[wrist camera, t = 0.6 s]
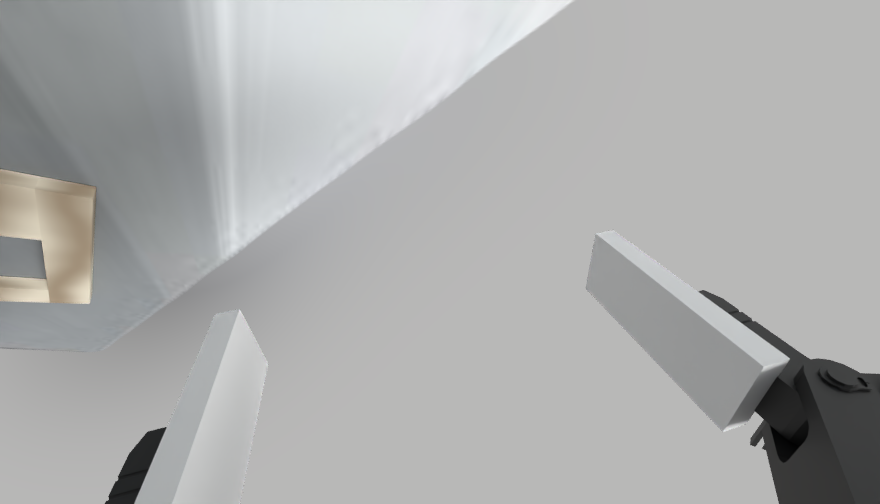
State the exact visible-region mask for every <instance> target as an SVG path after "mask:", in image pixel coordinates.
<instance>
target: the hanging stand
mask: <svg viewBox="0 0 880 504" xmlns="http://www.w3.org/2000/svg"><path fill="white" fill-rule="evenodd" d="M95 206H96V187H94V186H89V185H83V184H78V183H73V182H67V181H62V180H57V179H51V178H46V177H41V176H35V175H30V174H25V173H19V172H14V171H9V170H3V169H0V236H6V237H15V238H25V239H34V240H42V248H43V255H44V262H45V270H46V277H47V279H38V278H22V277H6V276H0V301H18V302H48V303H78V304H90V300H91V296H92V282H93V257H94V231H95Z"/></svg>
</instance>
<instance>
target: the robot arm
mask: <svg viewBox="0 0 880 504" xmlns="http://www.w3.org/2000/svg"><path fill="white" fill-rule="evenodd" d="M586 289H587V291H588V292H589V293H590V294H591V295H592V296H593V297H594V298H595V299H596V300H597V301H598V302H599V303H600V304H601V305H602V306H603V307H604V308H605V309H606V310H607V311H608V312H609V313H610V315H611V316H613V318H614V319H615V320H616V321H617V322H618V323H619V324H620V325H621V326H622V327H623V328H624V329H625V330H626V331H627V332H628V333H629V334H630V335H631V336H632V338H633V339H634V340H635V341H636V342H637V343H638V344H639V345H640V346H641V347H642V348H643V349H644V350H645V351H646V352H647V353H648V354H649V355H650V356H651V357H652V358H653V359H654V360H655V361H656V362H657V364H658V365H659V366H660V367H661V368H662V369H663V370H664V371H665V372H666V373H667V374H668V375H669V376H670V377H671V378H672V379H673V380H674V381H675V382H676V383H677V385H678V386H679V387H680V388H681V389H682V390H683V391H684V392H685V393H686V394H687V395H688V396H689V397H690V398H691V399H692V400H693V401H694V402H695V403H696V404H697V405H698V406H699V408H700V409H701V410H702V411H703V412H704V413H705V414H706V415H707V416H708V417H709V418H710V419H711V420H712V421H713V422H714V423H715V424H716V425H717V426H718V427H719V428H720V429H721V430H722V432H724V431H727V430H730V429H733V428H736V427H739V426H742V425H745V424H746V423H747V422H748V420H749V419H750V418H751V416H752V415H753V413H754V412H757V413H758V414H759V415H760V416H761V417H762V418H763V419H764V420H763V422H762V423H761V425H760V426H759V427H758V429H757V430H756V432H755V433H754V434H753V436H752V437H751V442H750V445H752V446H756V445H757V443H758V442H759V441H760V439H761V438H762V437H763V439H764V443H765V444H764V446H763V449H764V450H766V451H767V456H768V459H769V464H770V468H771V472H772V476H773V480H774V485H775V489H776V493H777V497H778V501H779V504H880V374H863V373H859V372H857V371H855V370H854V369H852V368H850V367H848V366H845V365H843V364H841V363H837V362H834V361H831V360H826V359H812V360H811V359H809V358H807V357H806V356H804V355H803V354H801V353H800V352H798V351H797V350H795V349H794V348H793V347H791V346H790V345H788V344H787V343H786V342H784V341H783V340H781V339H780V338H778V337H777V336H776V335H774V334H773V333H771V332H770V331H768V330H767V329H766V328H764V327H763V326H761V325H760V324H758V323H757V322H755V321H754V322H753V321H752V319H751V318H750V317H748V316H747V315H745V314H744V313H743V312H739V310H738V309H737V308H735V307H734V306H733V305H731V304H730V303H728V302H727V301H725V300H724V299H722V298H720V297H718V296H716V295H713V294H711V293H709V292H707V291H704V290H702V291H699V292H698V291H696V290H695V289H693V288H692V287H691V286H689V285H688V284H687V283H686V282H684V281H683V280H681V279H680V278H679V277H677V276H676V275H675V274H673V273H672V272H670V271H669V270H668V269H666V268H665V267H664V266H662V265H661V264H659V263H658V262H657V261H655V260H654V259H652V258H651V257H649V256H648V255H647V254H646V253H644V252H643V251H641V250H640V249H639V248H637V247H636V246H635V245H633V244H632V243H631V242H629V241H628V240H626V239H625V238H624V237H622V236H621V235H619V234H618V233H617V232H616V231H614V230H611V231H605V232H600V233H596V235H595V240H594V245H593V251H592V256H591V262H590V268H589V273H588V279H587V285H586ZM267 368H268V362H267V360H266V359H265V357H264V355H263V353H262V351H261V349H260V347H259V345H258V343H257V342H256V340H255V338H254V336H253V334H252V332H251V330H250V328H249V326H248V324H247V322H246V320H245V318H244V317H243V315H242V313H241V311H240V309H237V310H233V311H228V312H223V313H219V314H215V315H214V318H213V320H212V322H211V325H210V327H209V329H208V332H207V334H206V337H205V339H204V341H203V344H202V346H201V349H200V351H199V353H198V355H197V358H196V360H195V362H194V365H193V367H192V369H191V372H190V374H189V376H188V379H187V381H186V383H185V386H184V388H183V391H182V393H181V395H180V398H179V400H178V403H177V405H176V407H175V409H174V412H173V414H172V416H171V419H170V421H169V423H168V426H167V427H165V428H161V429H157V430H153V431H149V432H147V433H146V434H145V436H144V437H143V438H142V439H141V440H140V442H139V443H138V444H137V445H136V446H135V447H134V449H133V450H132V451H131V452H130V454H129V455H128V457H127V460H126V461H125V464H124V466H123V468H122V470H121V472H120V474H119V476H118V481H116V482H115V484H114V486H113V488H112V490H111V492H110V494H109V500H108V501H106V503H105V504H240V501H241V496H242V491H243V486H244V481H245V476H246V471H247V466H248V462H249V456H250V451H251V447H252V442H253V437H254V431H255V427H256V422H257V417H258V412H259V407H260V403H261V398H262V392H263V388H264V383H265V378H266V373H267Z"/></svg>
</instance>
